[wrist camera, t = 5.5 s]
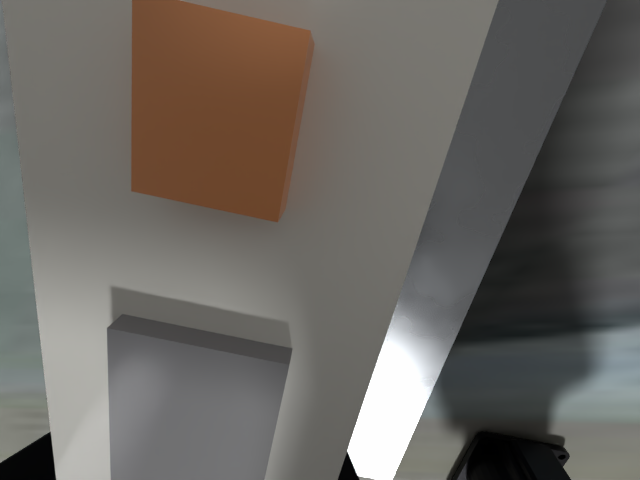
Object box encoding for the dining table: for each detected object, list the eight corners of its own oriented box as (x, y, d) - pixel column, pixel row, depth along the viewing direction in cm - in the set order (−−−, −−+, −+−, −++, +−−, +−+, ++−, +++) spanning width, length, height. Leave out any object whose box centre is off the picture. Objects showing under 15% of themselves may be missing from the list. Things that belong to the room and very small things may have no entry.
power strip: (280, 505, 15) (240, 790, 8) (184, 486, 15) (70, 763, 8) (393, 65, 9) (554, -88, 2) (226, 27, 8) (-97, -245, 2)
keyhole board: (376, 387, 22) (391, 481, 16) (165, 345, 21) (104, 428, 15) (518, -4, 14) (644, -83, 8) (189, -88, 13) (85, -236, 8)
